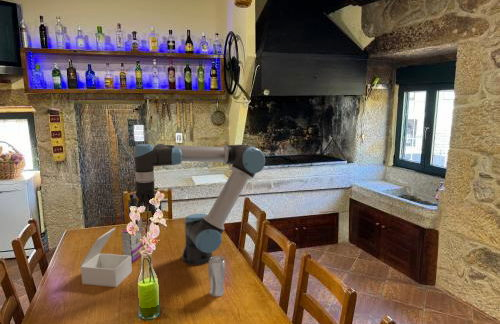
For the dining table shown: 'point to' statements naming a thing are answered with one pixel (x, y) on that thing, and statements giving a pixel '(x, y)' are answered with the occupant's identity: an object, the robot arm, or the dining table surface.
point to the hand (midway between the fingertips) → (147, 232)
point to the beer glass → (216, 275)
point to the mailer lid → (97, 246)
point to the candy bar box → (131, 245)
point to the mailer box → (106, 270)
